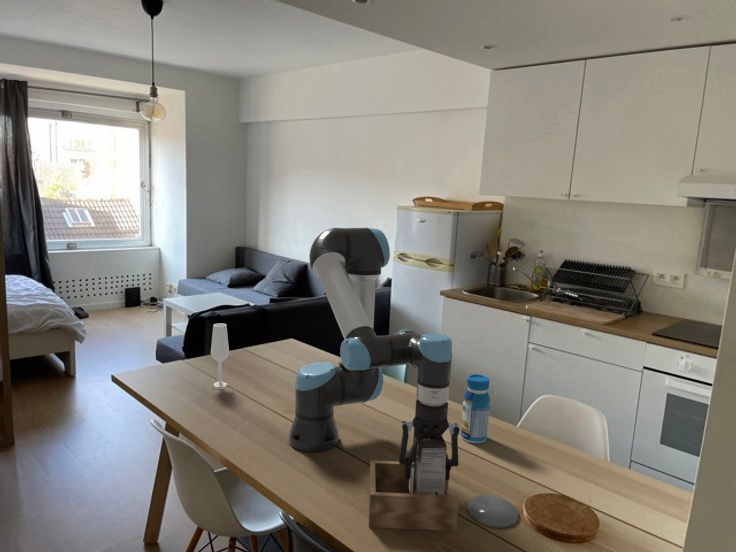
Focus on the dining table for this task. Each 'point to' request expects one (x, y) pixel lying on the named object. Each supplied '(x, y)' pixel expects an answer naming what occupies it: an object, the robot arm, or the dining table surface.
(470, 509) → the slate coaster
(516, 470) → the dining table surface
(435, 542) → the dining table surface
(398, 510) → the walnut u-shaped stand
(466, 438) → the beverage bottle
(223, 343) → the champagne flute
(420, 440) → the coffee box
